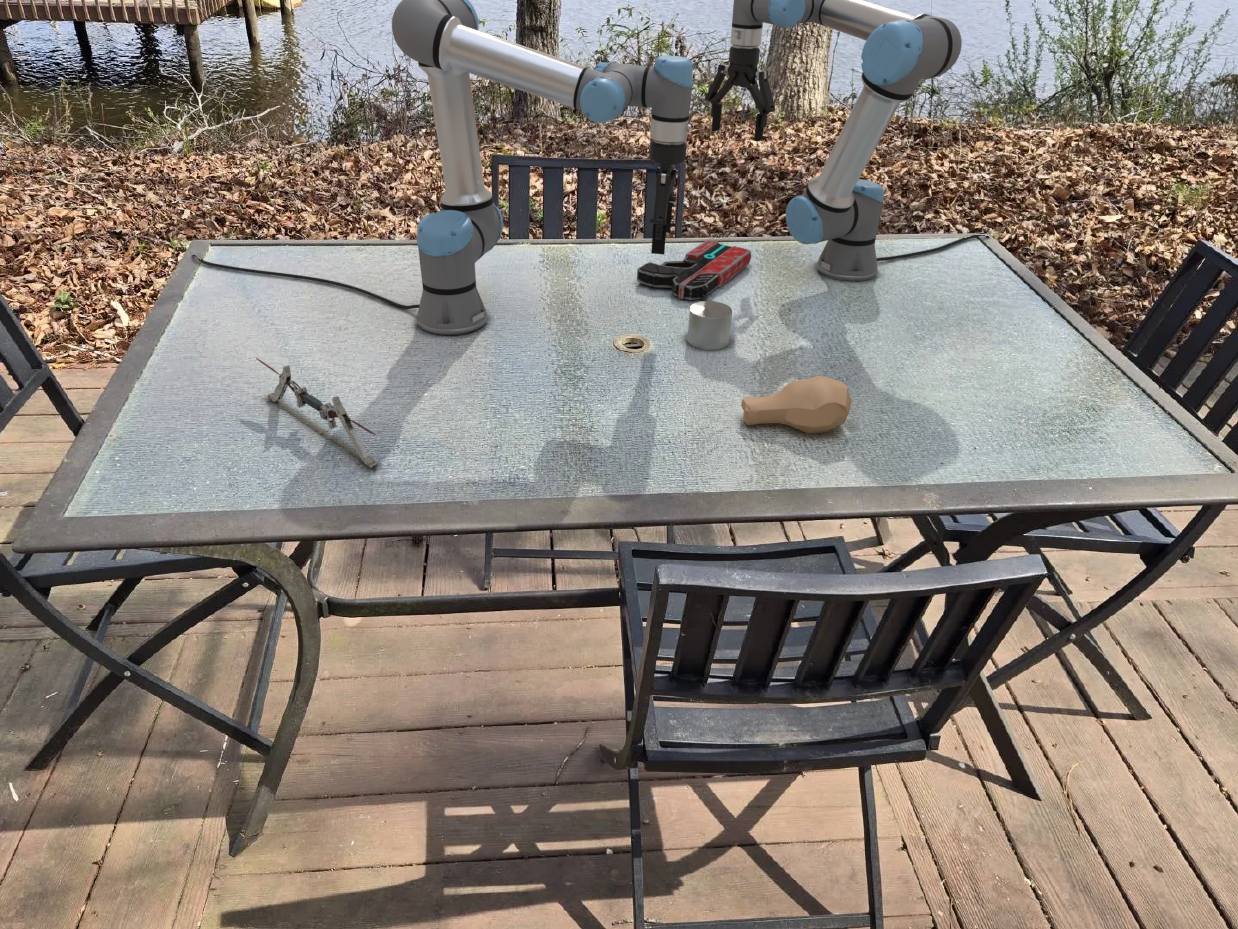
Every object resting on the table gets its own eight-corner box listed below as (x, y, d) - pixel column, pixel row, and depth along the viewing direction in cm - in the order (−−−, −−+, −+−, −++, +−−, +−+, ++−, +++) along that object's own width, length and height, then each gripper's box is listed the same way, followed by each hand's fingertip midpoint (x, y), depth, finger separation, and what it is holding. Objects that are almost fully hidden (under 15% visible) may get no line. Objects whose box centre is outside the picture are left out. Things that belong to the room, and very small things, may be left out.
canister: (734, 348, 189) (737, 316, 185) (693, 351, 188) (696, 319, 183) (721, 330, 197) (724, 299, 192) (682, 333, 195) (684, 302, 191)
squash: (855, 440, 159) (859, 402, 153) (745, 448, 161) (744, 411, 155) (845, 401, 167) (848, 364, 161) (739, 410, 169) (739, 373, 163)
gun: (631, 269, 213) (702, 288, 206) (689, 232, 235) (755, 248, 228) (630, 286, 216) (701, 306, 208) (688, 248, 238) (753, 264, 230)
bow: (387, 470, 147) (379, 419, 141) (378, 475, 146) (370, 423, 140) (269, 391, 168) (258, 344, 163) (260, 394, 167) (249, 347, 162)
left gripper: (682, 158, 167) (673, 264, 178) (691, 127, 187) (682, 225, 199) (643, 154, 167) (636, 261, 179) (656, 124, 188) (650, 222, 200)
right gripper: (696, 41, 221) (690, 128, 233) (778, 54, 208) (768, 146, 220) (714, 38, 226) (707, 124, 238) (796, 51, 212) (784, 141, 224)
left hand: (661, 242), depth 189 cm, fingers open, 13 cm apart
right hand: (736, 135), depth 229 cm, fingers open, 13 cm apart
